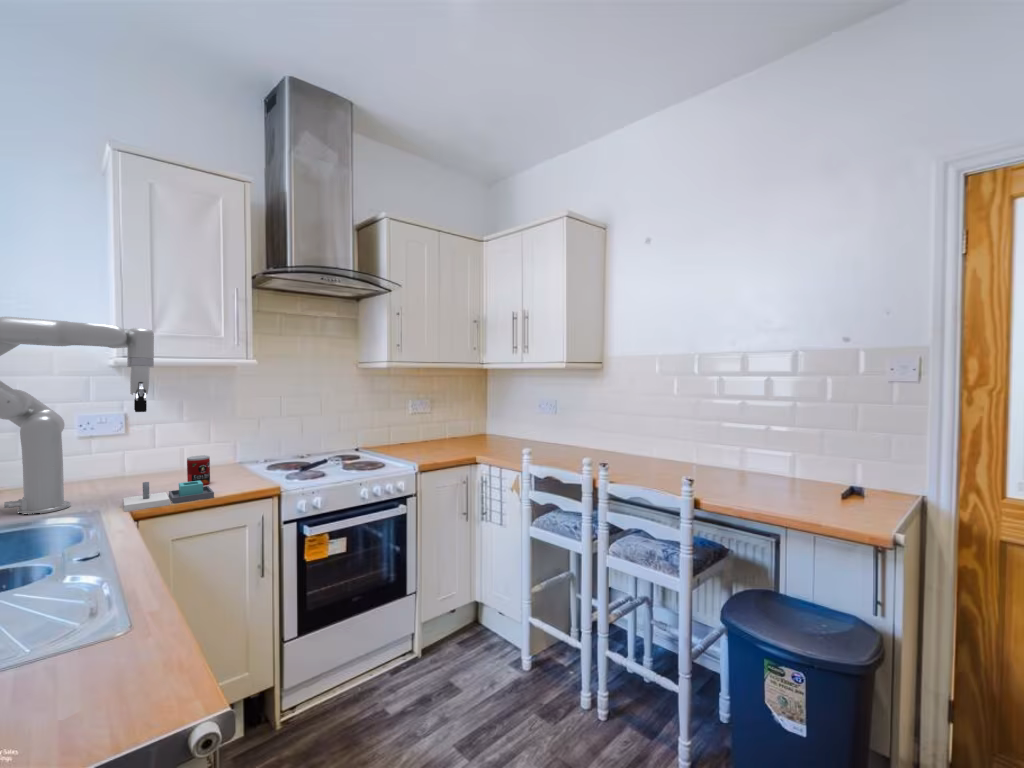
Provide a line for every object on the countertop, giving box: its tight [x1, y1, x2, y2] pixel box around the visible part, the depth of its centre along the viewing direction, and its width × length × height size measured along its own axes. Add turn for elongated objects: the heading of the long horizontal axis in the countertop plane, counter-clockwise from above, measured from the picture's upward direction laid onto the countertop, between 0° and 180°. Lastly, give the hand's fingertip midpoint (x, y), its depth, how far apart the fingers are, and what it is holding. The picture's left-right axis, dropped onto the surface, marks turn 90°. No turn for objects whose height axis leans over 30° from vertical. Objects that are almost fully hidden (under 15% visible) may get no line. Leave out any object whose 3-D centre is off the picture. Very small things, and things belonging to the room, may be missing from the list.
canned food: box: [186, 454, 211, 487], centre depth 194 cm, size 8×8×11 cm
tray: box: [168, 485, 215, 505], centre depth 175 cm, size 12×12×2 cm
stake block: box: [122, 481, 171, 512], centre depth 166 cm, size 12×12×8 cm
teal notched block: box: [178, 480, 204, 497], centre depth 175 cm, size 7×7×4 cm
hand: (140, 410), depth 175 cm, fingers open, 9 cm apart
